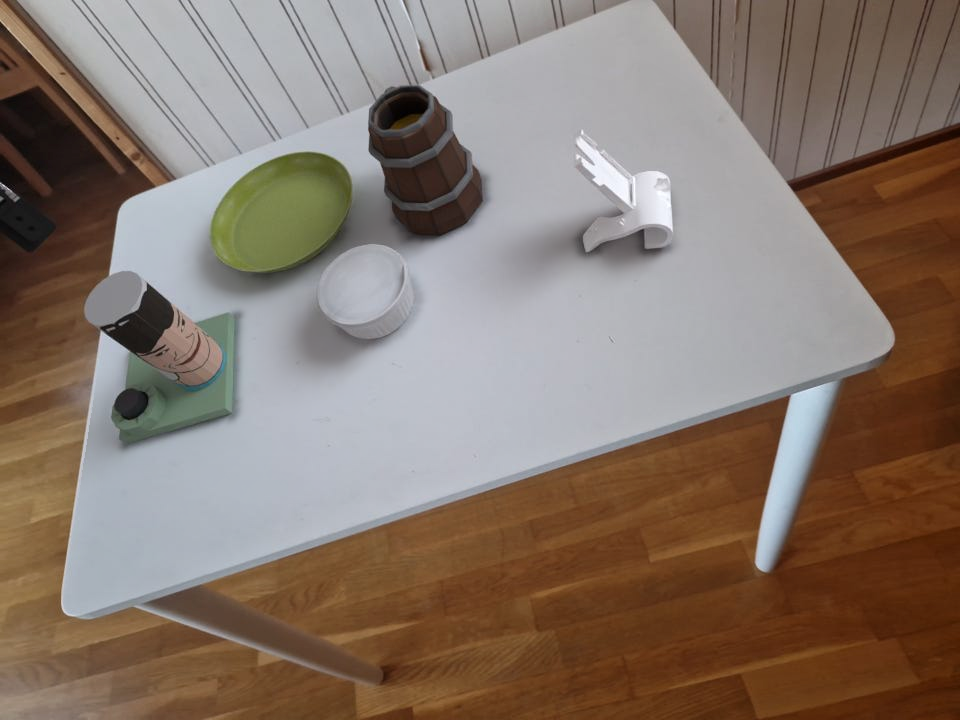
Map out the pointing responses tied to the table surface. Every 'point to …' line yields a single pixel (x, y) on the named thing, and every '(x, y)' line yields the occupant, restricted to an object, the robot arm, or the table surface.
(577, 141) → the plastic part
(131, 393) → the button
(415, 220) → the mug
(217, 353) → the cup
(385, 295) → the ramekin
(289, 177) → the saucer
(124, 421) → the scale
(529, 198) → the table surface
